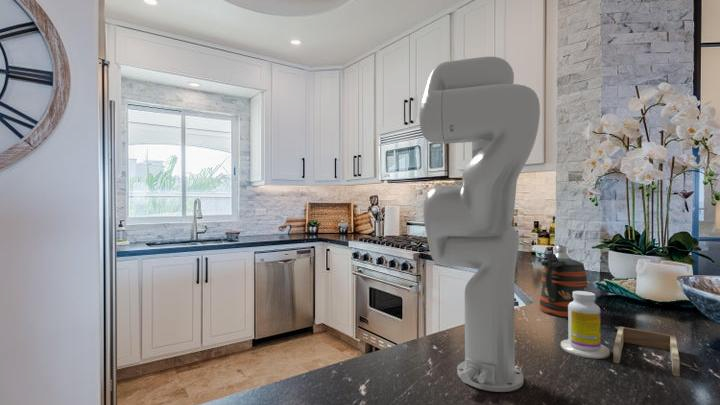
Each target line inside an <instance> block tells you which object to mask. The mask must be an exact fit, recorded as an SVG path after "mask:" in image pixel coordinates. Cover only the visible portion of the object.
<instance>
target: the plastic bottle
mask: <svg viewBox="0 0 720 405" xmlns="http://www.w3.org/2000/svg"><path fill="white" fill-rule="evenodd" d="M554 251H555V252H554V254H555V255H556V256H557V258H565V259H569V258H570V256H569V254H568V253H567V252H568V250H567V245H555V249H554Z"/></svg>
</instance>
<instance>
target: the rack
mask: <svg viewBox="0 0 720 405" xmlns="http://www.w3.org/2000/svg"><path fill="white" fill-rule="evenodd" d="M624 343H628V344H632V345H638V346H643V347H649V348H654V349H659V350H665V351H669V352H670V360H671V368H672V375H673V376H675V377H680V355H679V349H678V343H677V337H676V335H674V334H667V333H660V332H655V331H648V330H643V329H637V328H631V327H625V326H618V330H617V333H616V336H615V339H614V343H613V347H612V349H613V363H616V364H620V361H621V357H622V353H623V352H622V350H623V347H624Z"/></svg>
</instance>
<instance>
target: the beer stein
mask: <svg viewBox="0 0 720 405" xmlns="http://www.w3.org/2000/svg"><path fill="white" fill-rule="evenodd" d="M541 266H542V267H543V266H544V267H543V269H542V270H543V272H542V276H541V281H542V284H541V293H540V296H539V306H538V308H539V310H540V311H542V312H543V313H546V314H549V315H553V316H556V317H557V316H559V317H563V318H568V305H569V303H570V302H572V301H574V298H573V297H572V296H573V291H586V292H588V285H589V284H588V278H587V270H585V265H584V263H583V262H580V261H578V260H575V259H572V258H569V259H565V258H557V256H556V255H555V253H552V252H548V253H547V259H545V260H544V261H542V262H541Z"/></svg>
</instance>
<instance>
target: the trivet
mask: <svg viewBox="0 0 720 405" xmlns="http://www.w3.org/2000/svg"><path fill="white" fill-rule="evenodd" d="M560 347H561V350H563V351H565V352H566V353H569V354H571V355H572V356H577V357H582V358H585V359H595V360H597V359H599V360H601V359H607V358H609V357H610V355H611V353H610V352H611V350H610V349H609V348H608V347H607V346H605V345H603V344H601V348H600V349H599V350H597V351H585V350H580V349H577V348H574V347H572V346H571V345H570V344H569V341H568V338H567V339H563V340H561V342H560Z"/></svg>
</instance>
